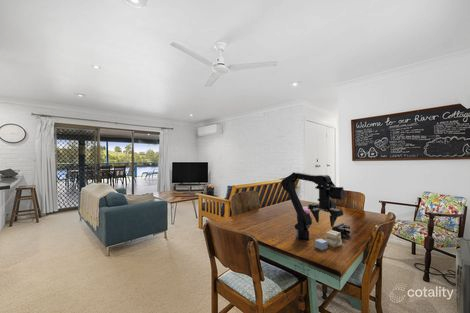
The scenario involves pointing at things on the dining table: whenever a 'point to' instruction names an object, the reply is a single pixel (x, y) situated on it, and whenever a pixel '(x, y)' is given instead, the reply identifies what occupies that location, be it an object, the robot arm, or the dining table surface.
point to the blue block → (321, 244)
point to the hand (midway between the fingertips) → (324, 224)
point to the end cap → (342, 230)
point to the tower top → (333, 235)
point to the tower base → (334, 242)
